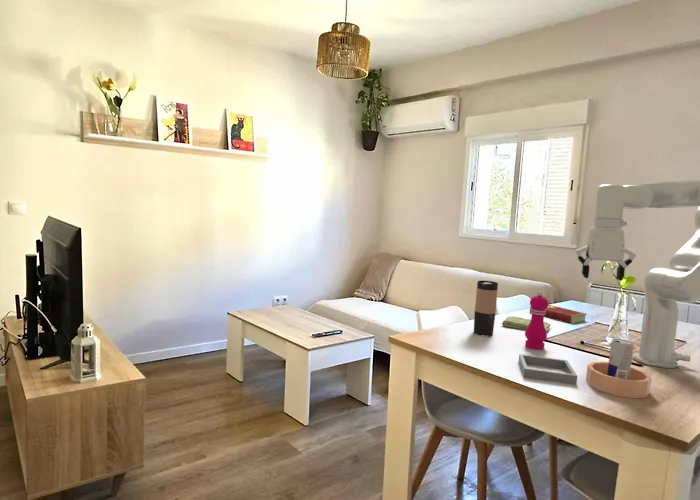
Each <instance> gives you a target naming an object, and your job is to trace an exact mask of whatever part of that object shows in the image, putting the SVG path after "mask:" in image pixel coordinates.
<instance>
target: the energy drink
mask: <svg viewBox="0 0 700 500" xmlns="http://www.w3.org/2000/svg"><path fill="white" fill-rule="evenodd" d="M633 351H634V343H633V342H632V341H630V340H627V339H623V338H613V339H612V340H611V342H610V349H609V358H608V362H609V364H608V372H607V375H608V376H612V377H616V378H620V379H627V380H629V377H630V369H631V367H632V362H633V361H632V360H633V354H634V353H633Z"/></svg>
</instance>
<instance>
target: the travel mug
mask: <svg viewBox="0 0 700 500" xmlns="http://www.w3.org/2000/svg"><path fill="white" fill-rule="evenodd" d="M498 285H499V283H498V282H497V281H492V280H477V283H476V295H475V304H474V305H475V306H474V315H473V316H474V319H473V333H474V334H475V335H476V336H477V335H478V336H483V337H492V336H493V335H494V329H495V319H496V311H497V300H498V289H499V288H498V287H499V286H498Z"/></svg>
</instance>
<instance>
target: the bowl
mask: <svg viewBox="0 0 700 500" xmlns="http://www.w3.org/2000/svg"><path fill="white" fill-rule="evenodd" d="M608 364H609V361H608V362H607V361H592V362H590V363H588V364H587V368H586V373H585V374H586V375H585V381H586V383H587V384H588V386H590V387H592V388H593V389H596V390H597V391H600V392H603V393H606V394H609V395H612V396H616V397H622V398H628V399H643V398H647V397H648V396H649V395H650V394H651V385H652V376H651V375H649V374H648V373H647V372H645V371H642V370H641V369H639V368H636V367H633V366H631V369H630V377H629V380H627V379H620V378H616V377H612V376H608V375H607V372H608Z"/></svg>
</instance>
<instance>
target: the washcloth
mask: <svg viewBox="0 0 700 500" xmlns="http://www.w3.org/2000/svg"><path fill="white" fill-rule="evenodd" d="M530 321H531V318H530V319H529V318H524V317H518V316H506V318H505V319H504V320H503V321H502V323H501V324H502V326H503V327H504V328H508V329H516V330H521V331H526V328H527V327H528V325H529V323H530ZM543 322H544V327H545V329H546V332H547V331H549V329H550V327H551V324H550V323H548V322H546V321H543Z"/></svg>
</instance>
